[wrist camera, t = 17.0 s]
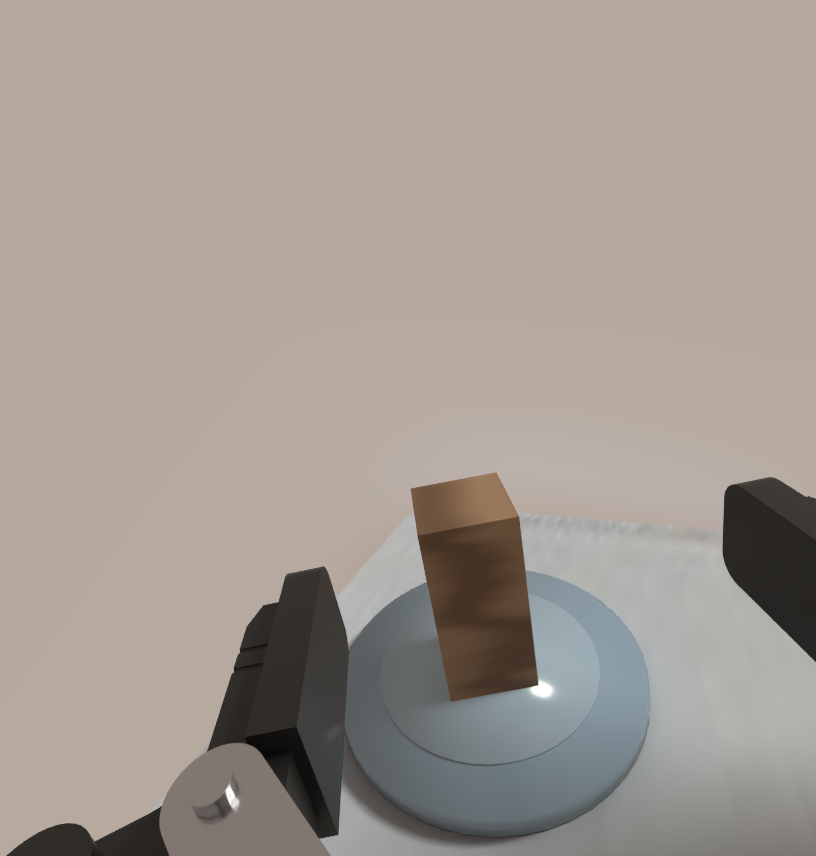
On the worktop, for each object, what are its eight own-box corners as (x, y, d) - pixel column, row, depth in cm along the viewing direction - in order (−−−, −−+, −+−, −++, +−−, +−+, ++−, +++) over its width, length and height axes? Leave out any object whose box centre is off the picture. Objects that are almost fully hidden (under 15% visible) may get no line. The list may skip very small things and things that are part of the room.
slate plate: (645, 594, 36) (645, 578, 36) (657, 893, 21) (657, 872, 20) (406, 571, 43) (403, 558, 43) (285, 782, 28) (279, 764, 28)
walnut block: (516, 623, 34) (496, 472, 30) (538, 685, 29) (518, 516, 25) (440, 637, 34) (410, 488, 30) (451, 702, 29) (417, 535, 25)
